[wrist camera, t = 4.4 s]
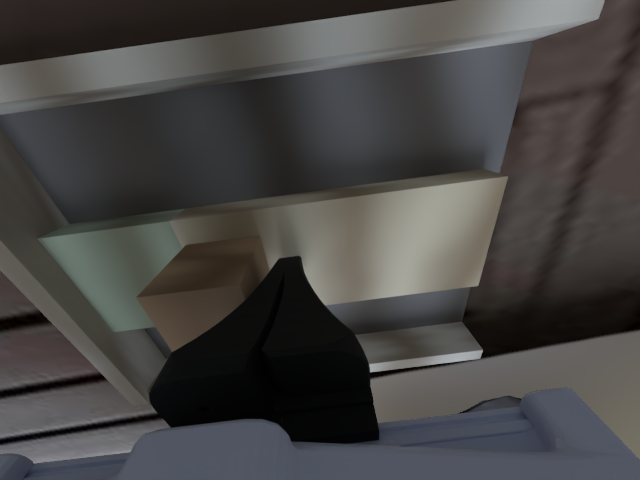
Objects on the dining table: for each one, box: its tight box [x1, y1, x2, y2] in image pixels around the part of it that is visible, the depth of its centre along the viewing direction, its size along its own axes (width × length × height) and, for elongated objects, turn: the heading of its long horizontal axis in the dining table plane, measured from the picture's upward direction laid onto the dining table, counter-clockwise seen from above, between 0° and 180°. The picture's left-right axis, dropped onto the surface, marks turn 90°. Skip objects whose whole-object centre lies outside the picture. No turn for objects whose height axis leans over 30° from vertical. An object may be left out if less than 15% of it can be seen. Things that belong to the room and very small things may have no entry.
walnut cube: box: [136, 236, 270, 352], centre depth 11 cm, size 4×4×4 cm
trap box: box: [0, 0, 605, 407], centre depth 14 cm, size 26×20×3 cm
